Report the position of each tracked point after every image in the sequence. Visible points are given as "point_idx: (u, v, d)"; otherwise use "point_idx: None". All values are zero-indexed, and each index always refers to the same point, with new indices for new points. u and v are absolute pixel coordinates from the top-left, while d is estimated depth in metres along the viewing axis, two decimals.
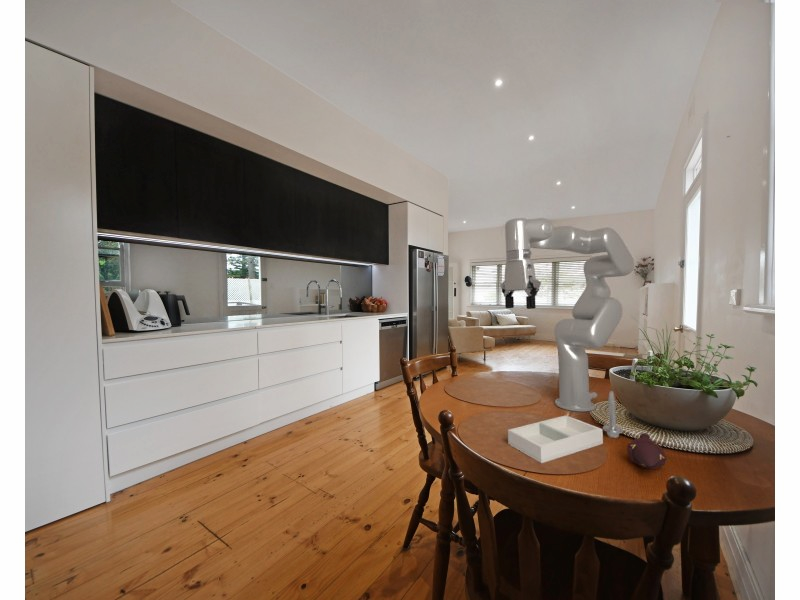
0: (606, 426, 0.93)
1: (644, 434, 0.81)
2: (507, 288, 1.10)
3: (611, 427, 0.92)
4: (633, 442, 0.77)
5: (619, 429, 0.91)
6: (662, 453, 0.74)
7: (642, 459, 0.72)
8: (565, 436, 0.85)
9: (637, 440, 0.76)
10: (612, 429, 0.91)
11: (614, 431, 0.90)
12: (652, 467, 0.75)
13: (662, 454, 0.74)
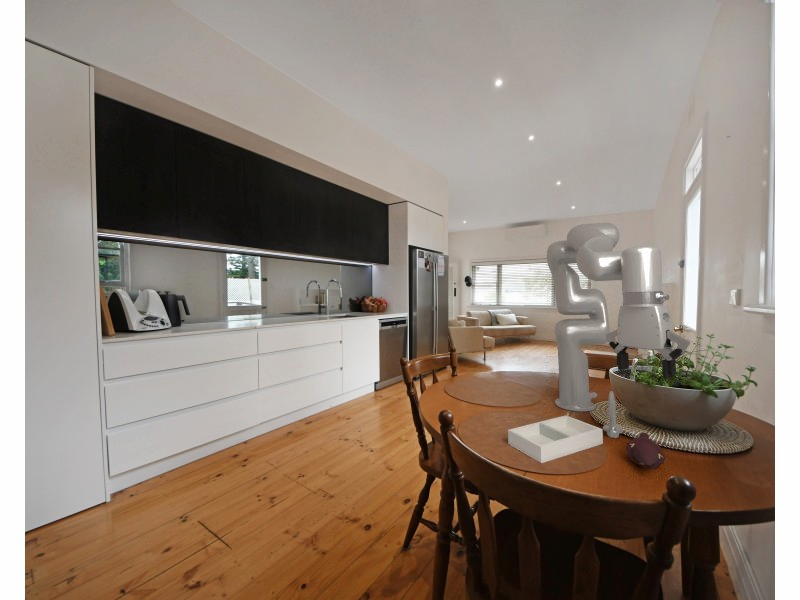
0: (606, 426, 0.93)
1: (644, 434, 0.81)
2: (623, 343, 0.78)
3: (611, 427, 0.92)
4: (632, 441, 0.77)
5: (619, 429, 0.91)
6: (661, 452, 0.74)
7: (640, 458, 0.73)
8: (565, 436, 0.85)
9: (636, 439, 0.77)
10: (612, 429, 0.91)
11: (614, 431, 0.90)
12: (651, 466, 0.75)
13: (661, 453, 0.74)
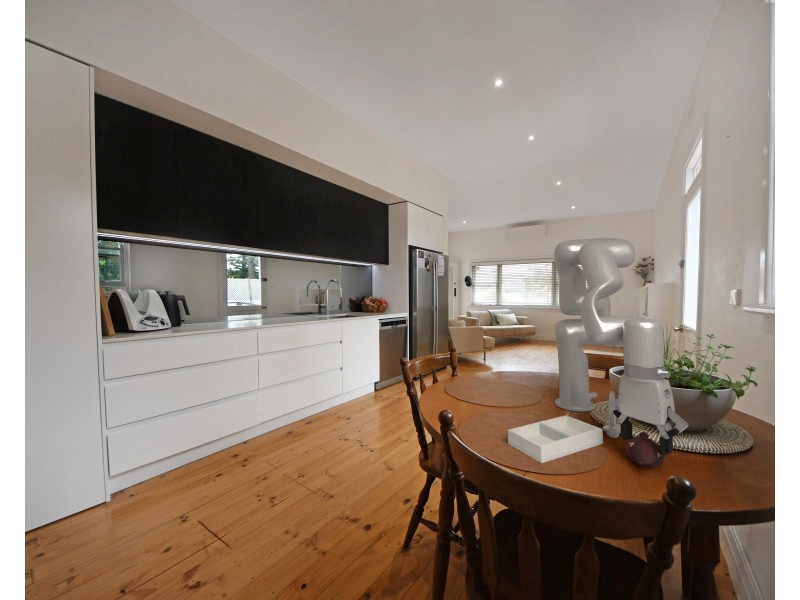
0: (606, 426, 0.93)
1: (643, 433, 0.81)
2: (624, 412, 0.78)
3: (611, 427, 0.92)
4: (631, 440, 0.78)
5: (619, 429, 0.91)
6: None
7: (639, 457, 0.73)
8: (565, 436, 0.85)
9: (635, 438, 0.77)
10: (612, 429, 0.91)
11: (614, 431, 0.90)
12: (650, 465, 0.75)
13: None
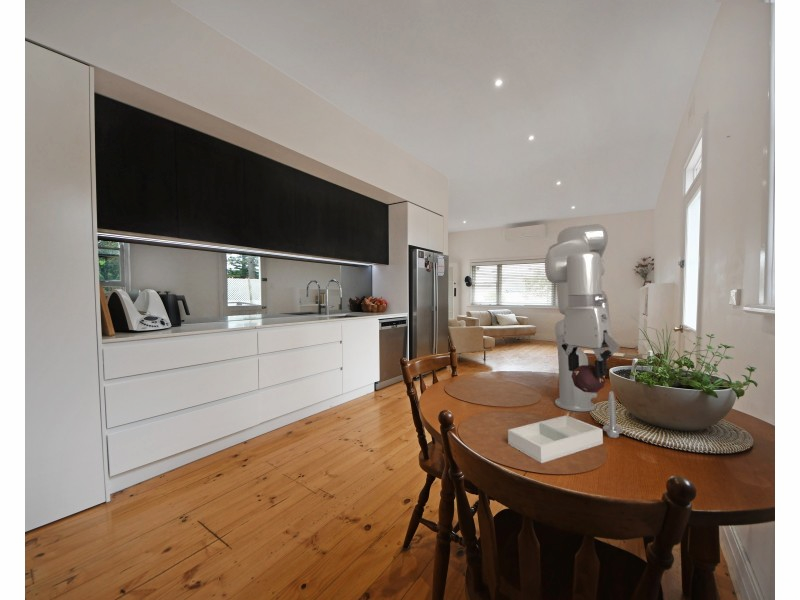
0: (606, 426, 0.93)
1: (590, 365, 0.86)
2: (568, 342, 0.83)
3: (611, 427, 0.92)
4: (576, 369, 0.82)
5: (619, 429, 0.91)
6: None
7: (581, 380, 0.78)
8: (565, 436, 0.85)
9: (580, 367, 0.82)
10: (612, 429, 0.91)
11: (614, 431, 0.90)
12: (593, 390, 0.80)
13: (601, 377, 0.79)
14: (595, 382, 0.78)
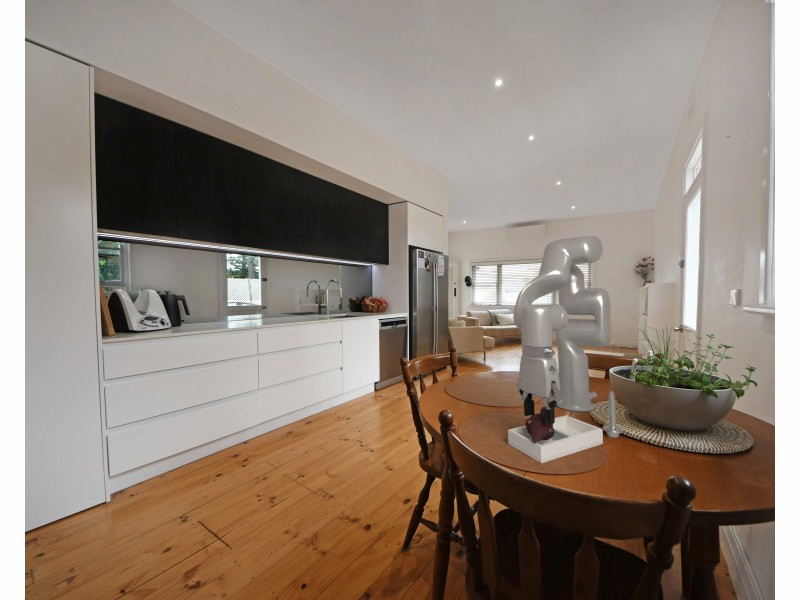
0: (606, 426, 0.93)
1: (543, 408, 0.90)
2: (523, 388, 0.89)
3: (611, 427, 0.92)
4: (529, 419, 0.87)
5: (619, 429, 0.91)
6: (551, 427, 0.84)
7: (531, 435, 0.83)
8: (565, 436, 0.85)
9: (532, 417, 0.86)
10: (612, 429, 0.91)
11: (614, 431, 0.90)
12: (544, 438, 0.85)
13: (551, 428, 0.84)
14: (544, 435, 0.83)
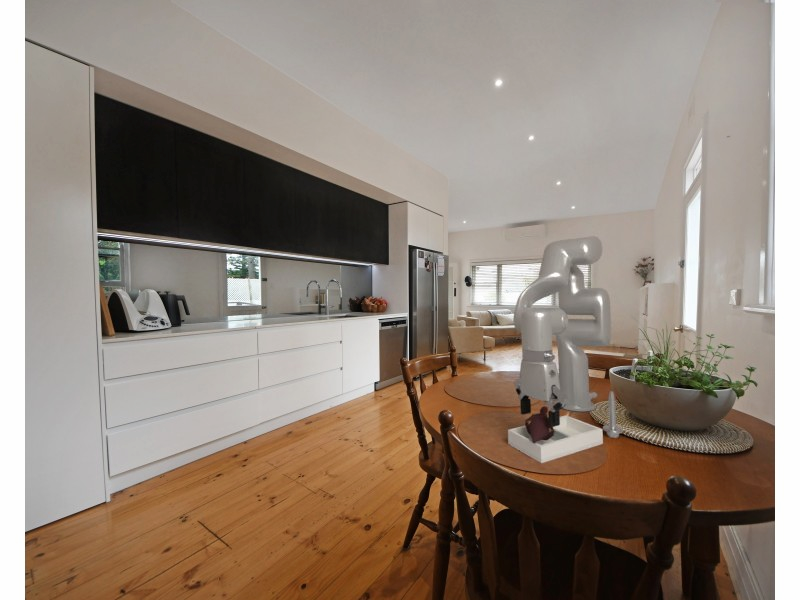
0: (606, 426, 0.93)
1: (543, 408, 0.90)
2: (523, 392, 0.89)
3: (611, 427, 0.92)
4: (529, 419, 0.87)
5: (619, 429, 0.91)
6: (551, 427, 0.84)
7: (531, 435, 0.83)
8: (565, 436, 0.85)
9: (532, 417, 0.86)
10: (612, 429, 0.91)
11: (614, 431, 0.90)
12: (544, 438, 0.86)
13: (551, 428, 0.84)
14: (544, 435, 0.83)
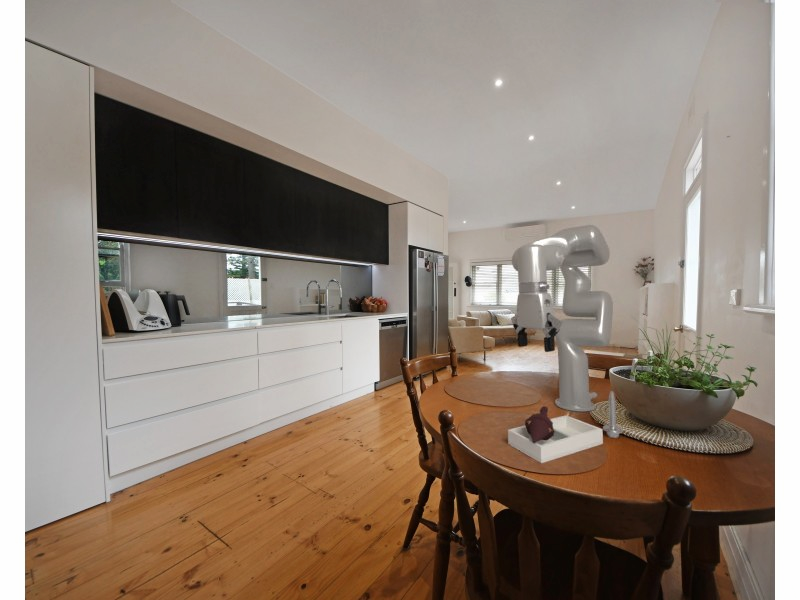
0: (606, 426, 0.93)
1: (543, 408, 0.90)
2: (520, 324, 0.94)
3: (611, 427, 0.92)
4: (529, 419, 0.87)
5: (619, 429, 0.91)
6: (551, 427, 0.84)
7: (531, 435, 0.83)
8: (565, 436, 0.85)
9: (532, 417, 0.86)
10: (612, 429, 0.91)
11: (614, 431, 0.90)
12: (544, 438, 0.86)
13: (551, 428, 0.84)
14: (544, 435, 0.83)
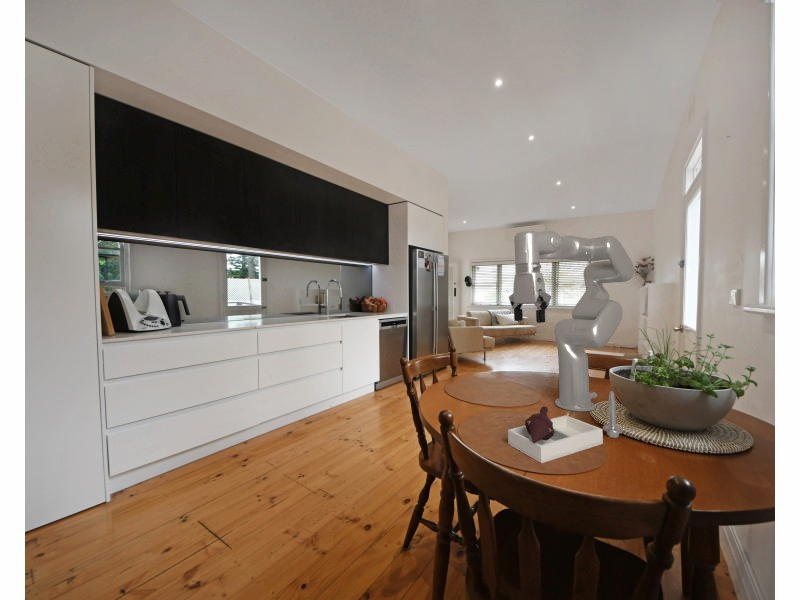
0: (606, 426, 0.93)
1: (543, 408, 0.90)
2: (516, 301, 1.09)
3: (611, 427, 0.92)
4: (529, 419, 0.87)
5: (619, 429, 0.91)
6: (551, 427, 0.84)
7: (531, 435, 0.83)
8: (565, 436, 0.85)
9: (532, 417, 0.86)
10: (612, 429, 0.91)
11: (614, 431, 0.90)
12: (544, 438, 0.86)
13: (551, 428, 0.84)
14: (544, 435, 0.83)
